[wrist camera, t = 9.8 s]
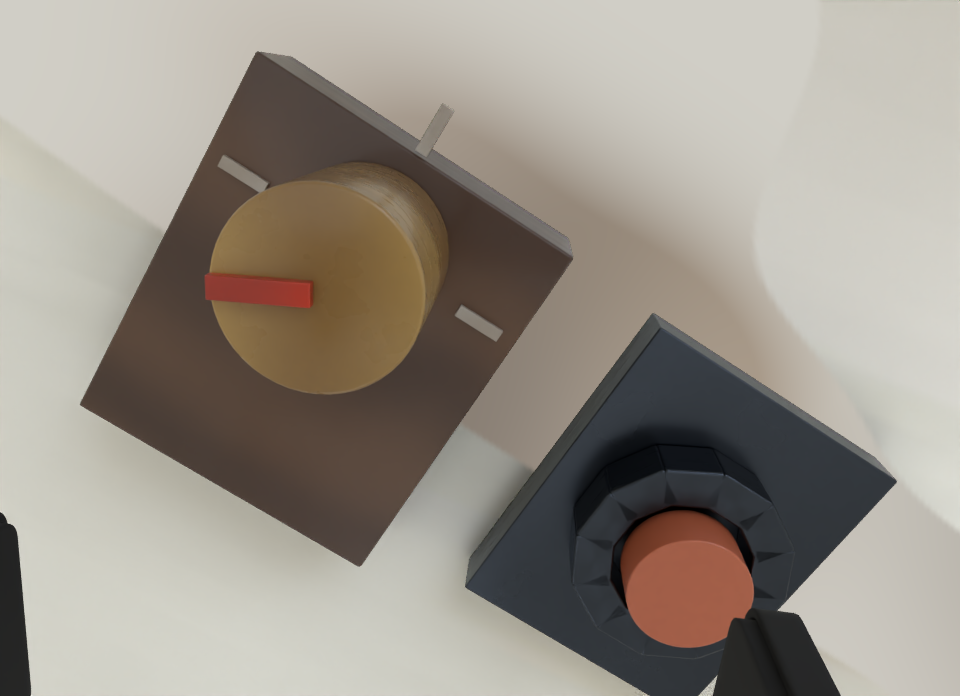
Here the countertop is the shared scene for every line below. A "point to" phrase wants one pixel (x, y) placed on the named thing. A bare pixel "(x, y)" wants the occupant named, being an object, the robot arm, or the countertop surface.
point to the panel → (305, 416)
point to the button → (685, 578)
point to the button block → (670, 502)
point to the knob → (329, 276)
